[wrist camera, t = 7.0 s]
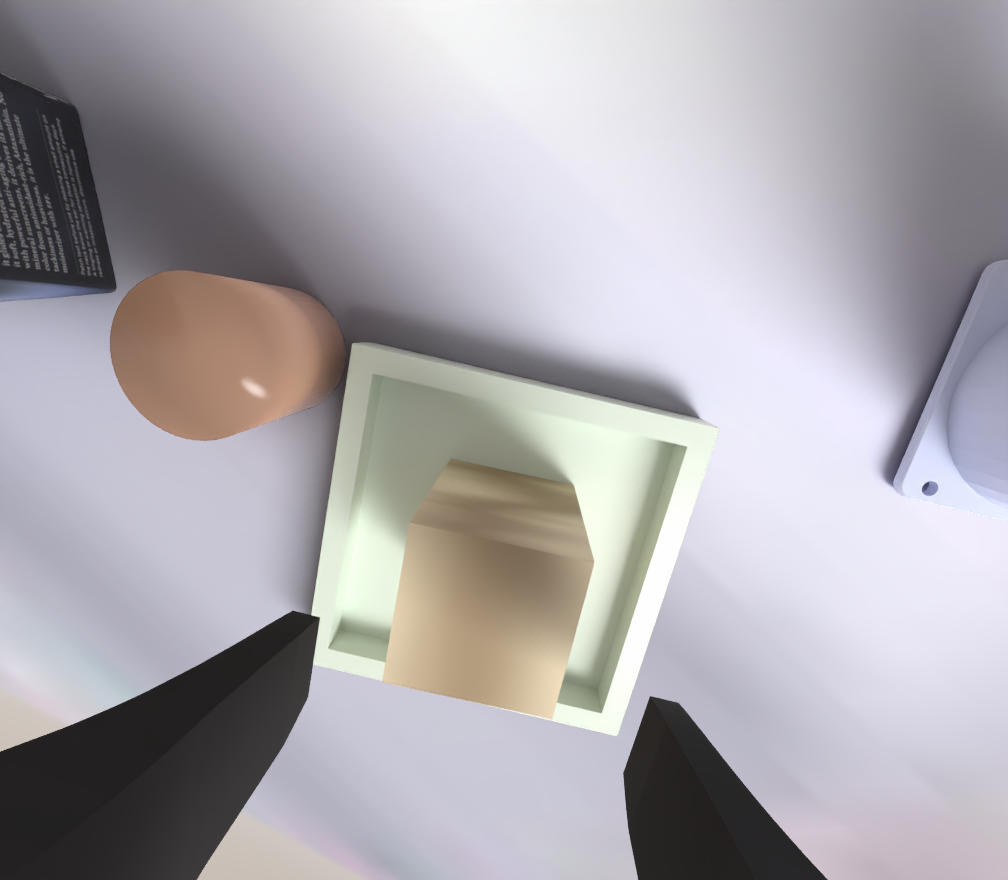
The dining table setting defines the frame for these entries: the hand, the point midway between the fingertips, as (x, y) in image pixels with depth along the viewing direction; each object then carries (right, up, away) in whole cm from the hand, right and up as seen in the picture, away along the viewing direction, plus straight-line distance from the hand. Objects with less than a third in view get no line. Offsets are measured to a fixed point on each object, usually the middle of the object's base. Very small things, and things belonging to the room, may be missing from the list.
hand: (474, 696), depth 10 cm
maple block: (+1, +2, +8) cm, 8 cm away
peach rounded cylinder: (-7, +9, +7) cm, 13 cm away
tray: (0, +2, +8) cm, 9 cm away
